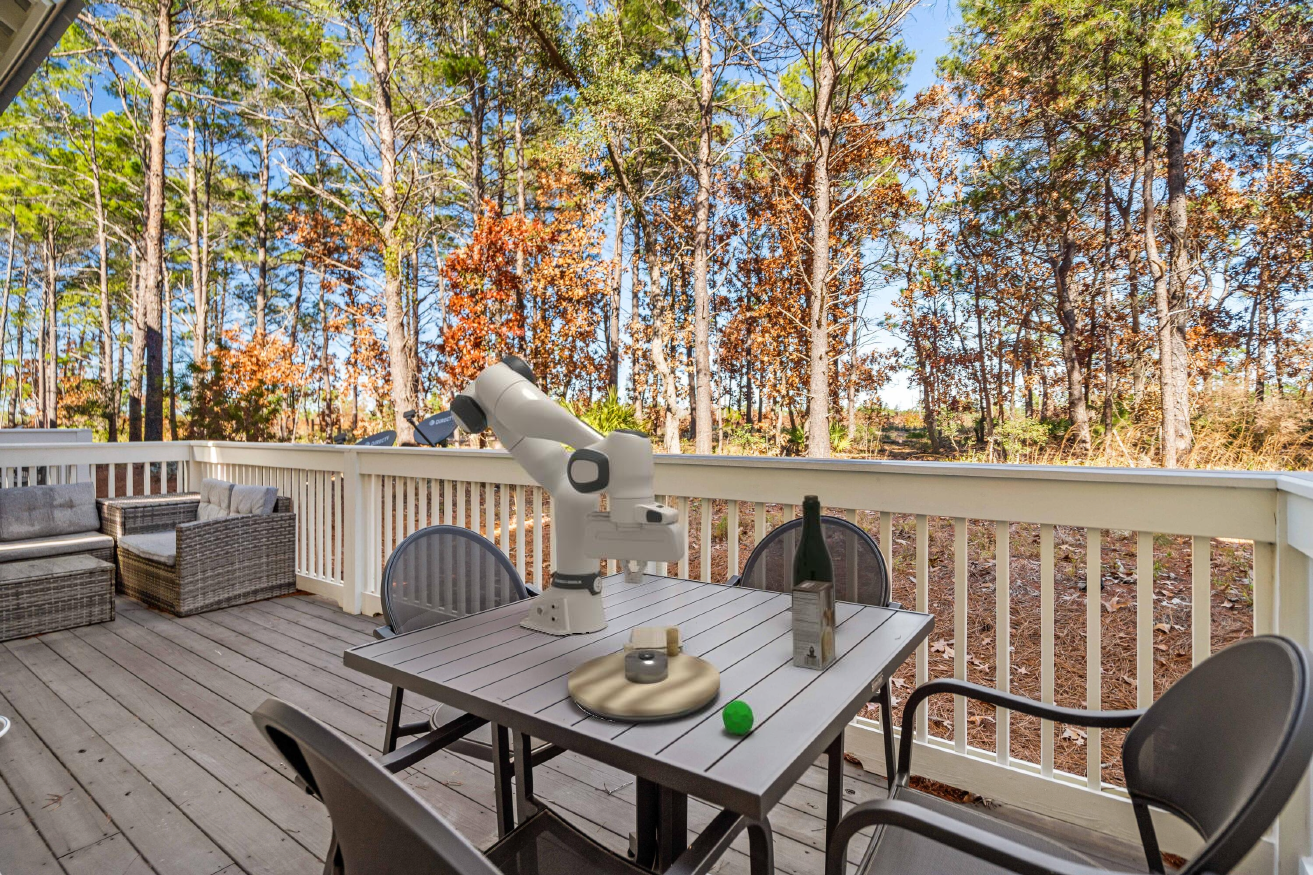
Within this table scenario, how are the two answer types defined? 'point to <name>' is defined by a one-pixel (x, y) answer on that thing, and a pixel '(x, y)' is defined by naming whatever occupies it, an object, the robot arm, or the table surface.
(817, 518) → the wine bottle
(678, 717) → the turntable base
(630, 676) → the iron cover
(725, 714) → the polyhedron
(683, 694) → the turntable
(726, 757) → the table surface
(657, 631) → the washcloth
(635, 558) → the robot arm
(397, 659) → the table surface
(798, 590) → the coffee box
